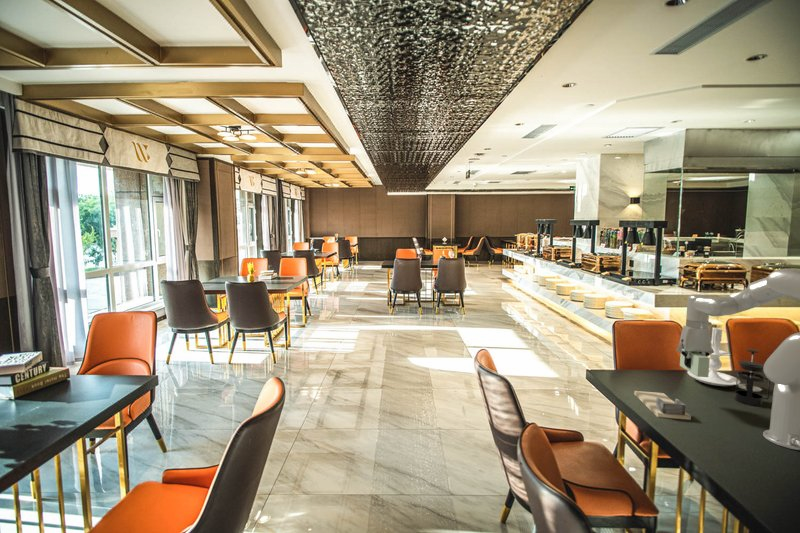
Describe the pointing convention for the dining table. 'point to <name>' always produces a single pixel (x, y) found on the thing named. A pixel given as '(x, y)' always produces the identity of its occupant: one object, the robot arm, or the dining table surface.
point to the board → (663, 405)
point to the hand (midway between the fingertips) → (693, 366)
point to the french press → (750, 383)
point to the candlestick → (716, 364)
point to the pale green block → (697, 364)
